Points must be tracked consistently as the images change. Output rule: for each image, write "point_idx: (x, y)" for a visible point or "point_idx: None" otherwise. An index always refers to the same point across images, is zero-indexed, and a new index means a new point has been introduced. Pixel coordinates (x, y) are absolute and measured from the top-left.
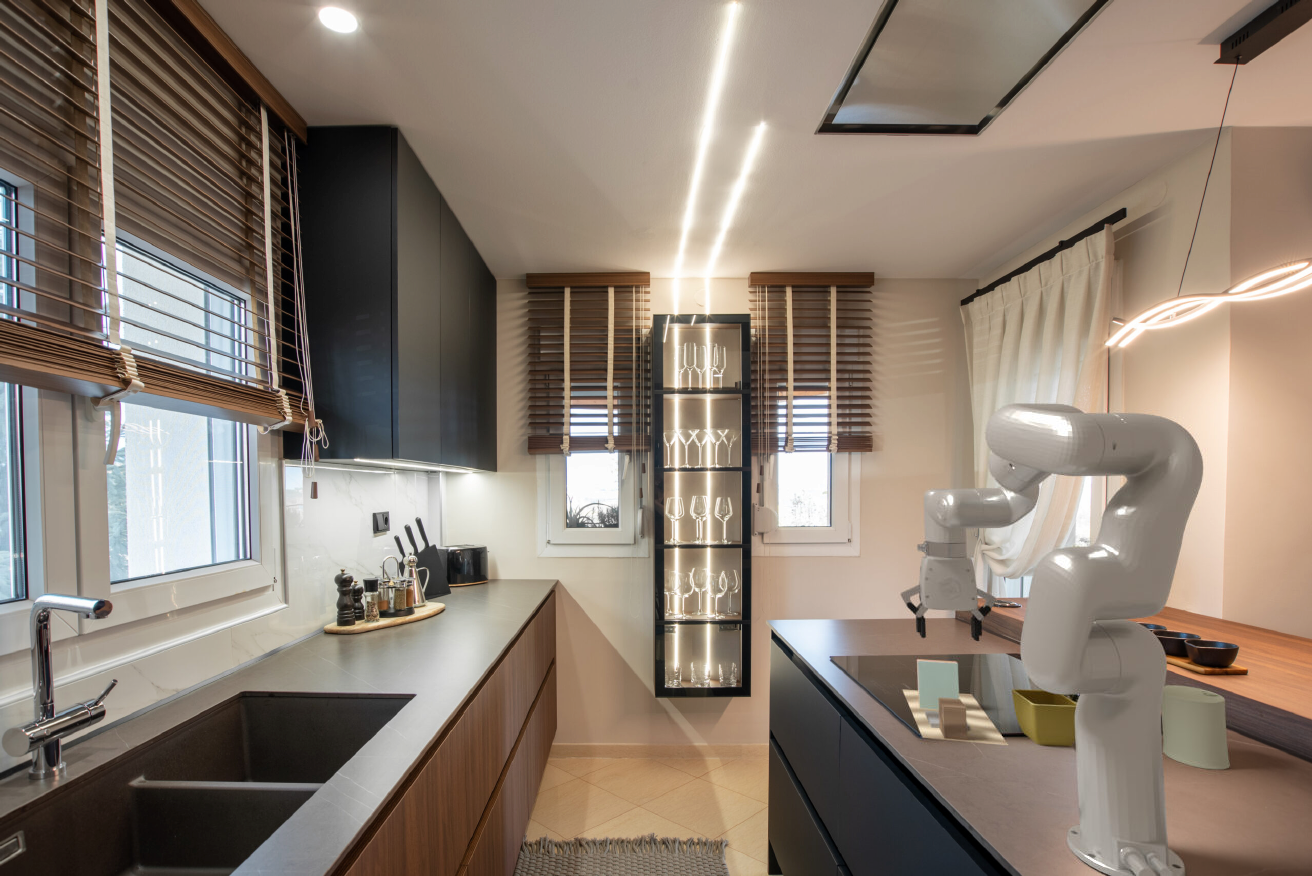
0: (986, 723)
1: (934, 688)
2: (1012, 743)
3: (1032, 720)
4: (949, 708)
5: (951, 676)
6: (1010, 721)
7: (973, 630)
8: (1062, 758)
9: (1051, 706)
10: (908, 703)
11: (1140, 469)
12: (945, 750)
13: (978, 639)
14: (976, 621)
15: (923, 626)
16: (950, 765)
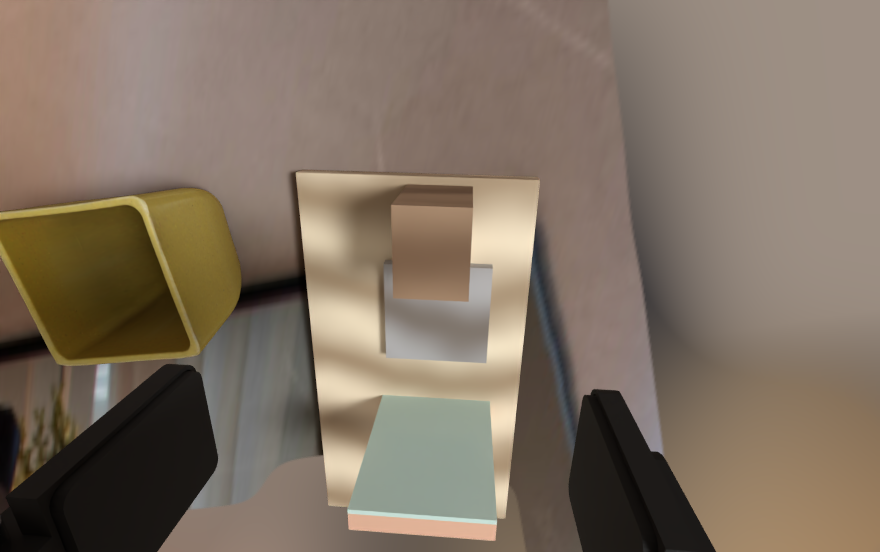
0: (327, 320)
1: (443, 440)
2: (283, 232)
3: (184, 200)
4: (451, 205)
5: (382, 470)
6: (263, 375)
7: (162, 455)
8: (172, 155)
9: (81, 203)
10: (513, 427)
11: None
12: (480, 142)
13: (168, 367)
14: (40, 491)
15: (639, 459)
16: (494, 24)
